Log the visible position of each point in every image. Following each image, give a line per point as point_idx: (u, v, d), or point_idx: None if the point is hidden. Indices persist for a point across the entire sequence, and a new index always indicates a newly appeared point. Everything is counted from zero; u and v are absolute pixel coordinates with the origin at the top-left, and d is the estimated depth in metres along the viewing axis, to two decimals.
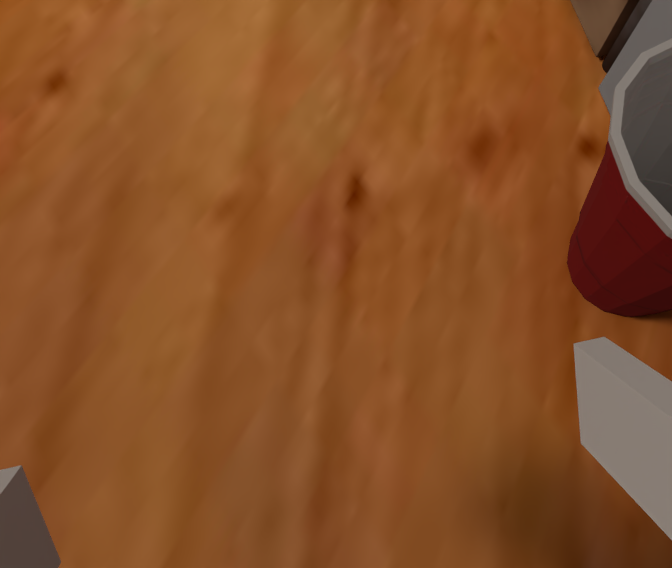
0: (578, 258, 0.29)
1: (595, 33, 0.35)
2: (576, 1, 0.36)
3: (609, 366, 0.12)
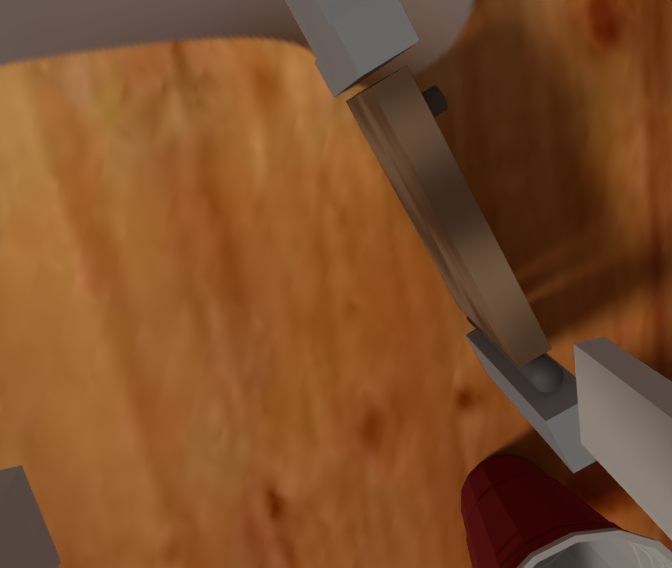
0: None
1: (455, 297, 0.33)
2: (431, 254, 0.33)
3: (609, 366, 0.12)
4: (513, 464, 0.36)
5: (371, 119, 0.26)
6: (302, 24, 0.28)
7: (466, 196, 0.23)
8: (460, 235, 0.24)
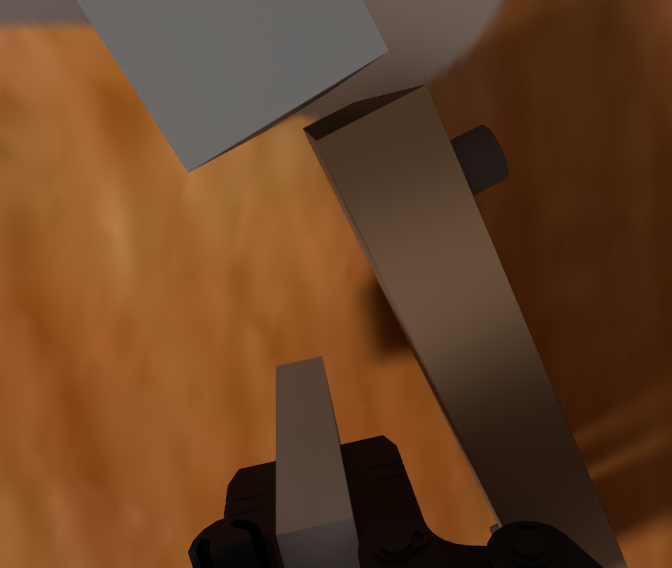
0: None
1: None
2: None
3: (300, 383, 0.14)
4: None
5: (335, 190, 0.12)
6: None
7: (552, 431, 0.09)
8: (525, 517, 0.09)
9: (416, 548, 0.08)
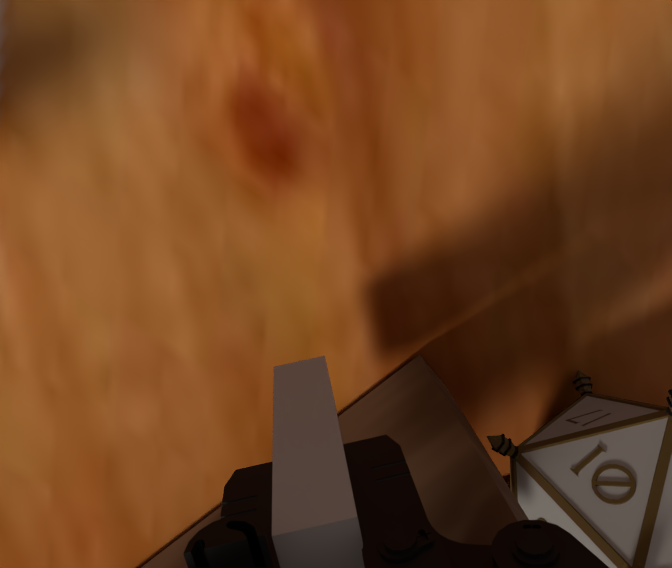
0: None
1: None
2: (191, 537, 0.19)
3: (303, 382, 0.14)
4: None
5: (427, 470, 0.14)
6: None
7: None
8: None
9: (420, 547, 0.08)
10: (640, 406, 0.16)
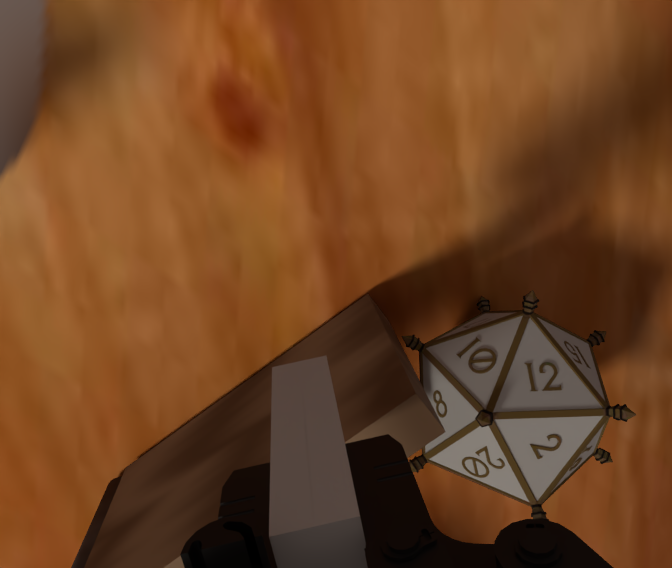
0: None
1: (139, 466, 0.25)
2: (191, 424, 0.25)
3: (305, 382, 0.14)
4: None
5: (361, 360, 0.20)
6: None
7: None
8: None
9: (423, 546, 0.08)
10: (510, 312, 0.22)
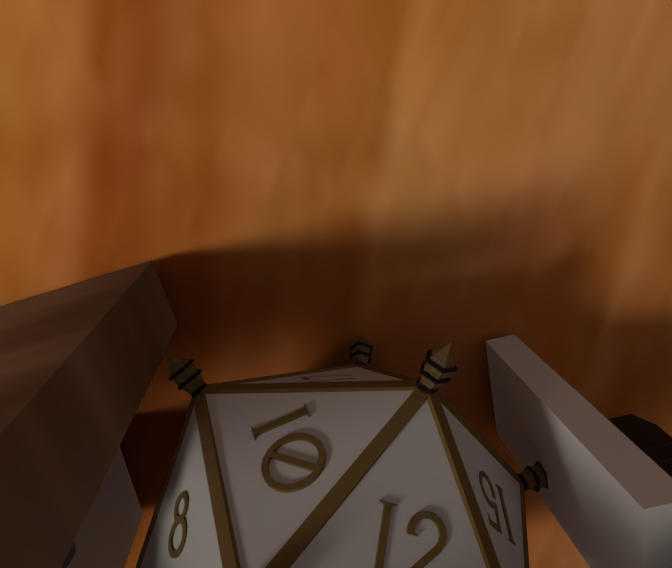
0: None
1: None
2: None
3: (509, 361, 0.13)
4: None
5: None
6: None
7: None
8: None
9: None
10: (395, 377, 0.11)
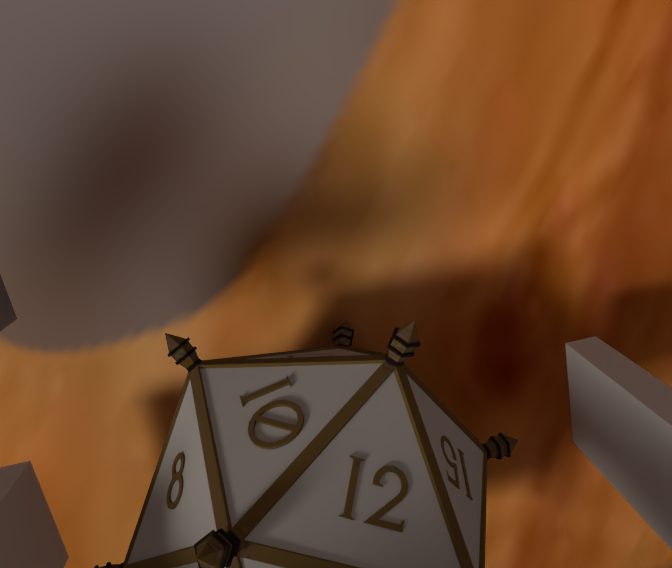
0: None
1: None
2: None
3: (599, 365, 0.12)
4: None
5: None
6: None
7: None
8: None
9: None
10: (369, 354, 0.12)
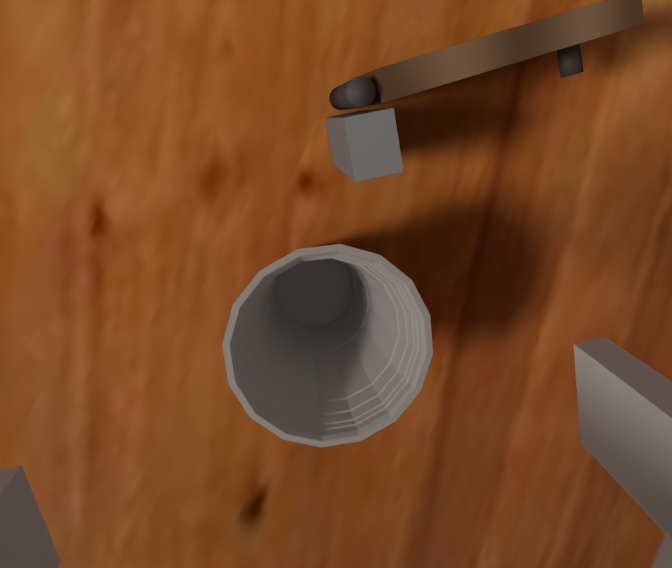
0: None
1: None
2: None
3: (609, 366, 0.12)
4: None
5: None
6: None
7: (535, 51, 0.28)
8: (506, 38, 0.28)
9: None
10: None
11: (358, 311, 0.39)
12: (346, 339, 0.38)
